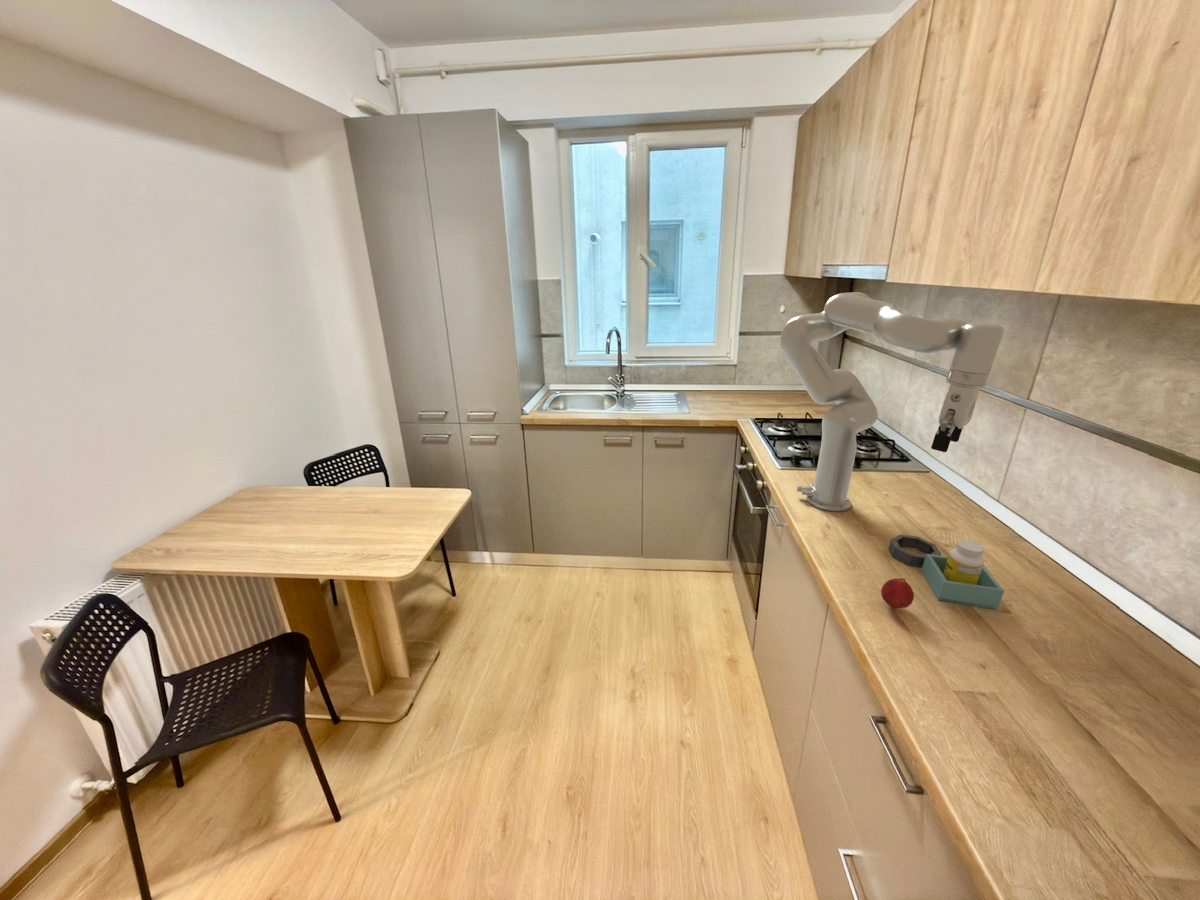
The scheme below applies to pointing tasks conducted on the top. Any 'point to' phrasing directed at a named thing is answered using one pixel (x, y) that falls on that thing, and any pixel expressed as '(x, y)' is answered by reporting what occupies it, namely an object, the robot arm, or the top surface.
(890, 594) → the onion
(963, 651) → the top surface
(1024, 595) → the top surface
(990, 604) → the bin
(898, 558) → the socket collar
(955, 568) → the pill bottle
